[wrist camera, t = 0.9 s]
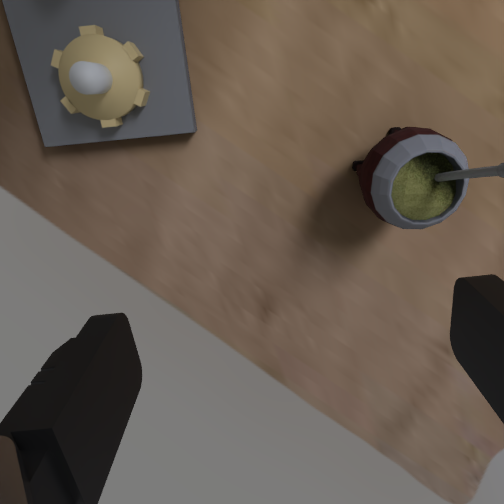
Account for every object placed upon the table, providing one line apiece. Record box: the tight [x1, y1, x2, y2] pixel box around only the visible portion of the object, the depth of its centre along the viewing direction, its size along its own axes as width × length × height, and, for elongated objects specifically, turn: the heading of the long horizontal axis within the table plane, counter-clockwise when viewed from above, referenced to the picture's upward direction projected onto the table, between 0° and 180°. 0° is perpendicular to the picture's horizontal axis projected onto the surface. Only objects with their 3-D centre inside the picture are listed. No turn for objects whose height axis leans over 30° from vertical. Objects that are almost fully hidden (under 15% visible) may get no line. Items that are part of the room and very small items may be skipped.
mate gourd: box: [352, 127, 504, 229], centre depth 26 cm, size 8×8×15 cm
